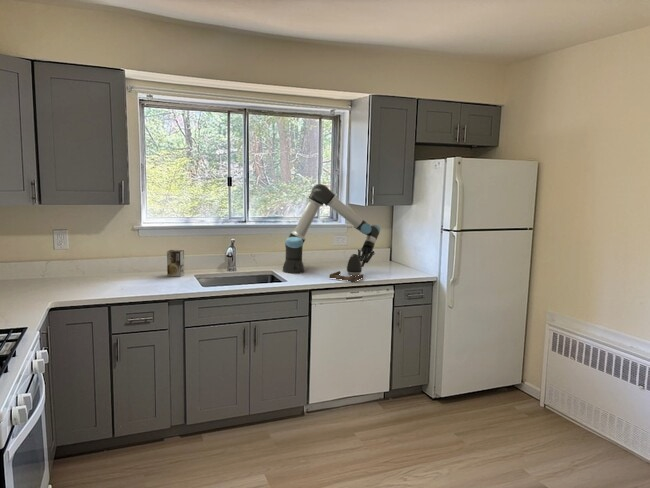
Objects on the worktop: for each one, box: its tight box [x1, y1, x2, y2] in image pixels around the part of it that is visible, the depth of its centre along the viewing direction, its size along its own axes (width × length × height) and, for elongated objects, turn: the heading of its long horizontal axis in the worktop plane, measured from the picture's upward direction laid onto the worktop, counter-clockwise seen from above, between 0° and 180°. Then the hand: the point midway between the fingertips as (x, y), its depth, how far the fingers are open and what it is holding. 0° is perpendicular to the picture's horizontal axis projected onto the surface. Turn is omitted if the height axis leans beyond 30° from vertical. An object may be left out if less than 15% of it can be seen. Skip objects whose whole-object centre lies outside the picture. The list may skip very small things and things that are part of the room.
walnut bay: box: [328, 271, 364, 283], centre depth 316 cm, size 18×14×3 cm
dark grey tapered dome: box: [346, 253, 363, 277], centre depth 326 cm, size 10×10×15 cm
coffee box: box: [166, 249, 185, 277], centre depth 307 cm, size 9×6×16 cm
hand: (358, 269), depth 334 cm, fingers closed
